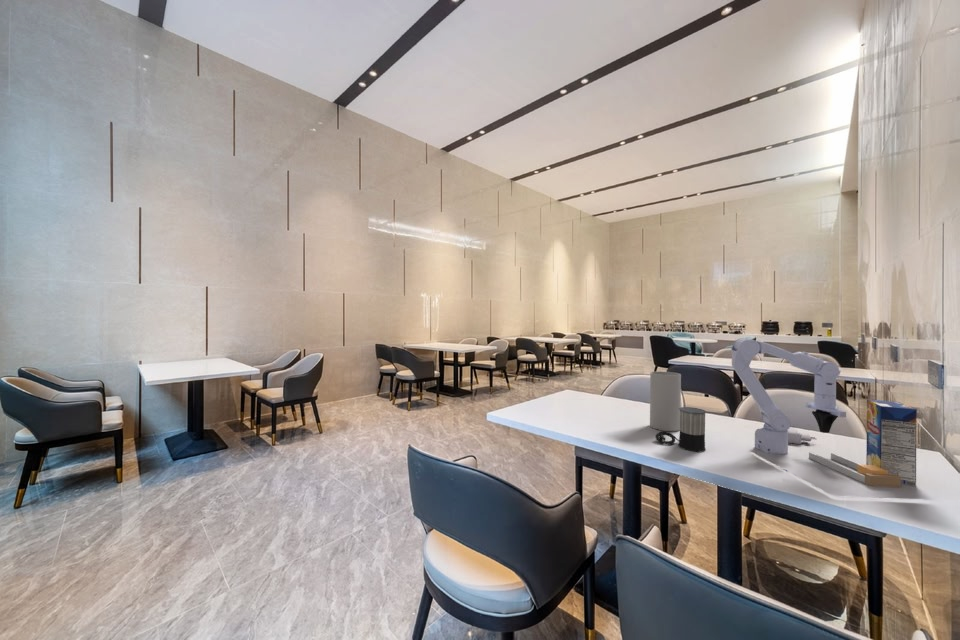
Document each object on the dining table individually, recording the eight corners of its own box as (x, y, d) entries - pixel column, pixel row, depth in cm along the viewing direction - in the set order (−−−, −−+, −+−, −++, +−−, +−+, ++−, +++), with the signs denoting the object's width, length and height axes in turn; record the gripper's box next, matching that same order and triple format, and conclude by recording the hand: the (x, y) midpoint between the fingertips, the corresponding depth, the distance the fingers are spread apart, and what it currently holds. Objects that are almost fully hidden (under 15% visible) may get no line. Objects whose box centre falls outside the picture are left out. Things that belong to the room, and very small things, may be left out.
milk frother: (711, 452, 138) (711, 412, 138) (668, 451, 138) (669, 412, 138) (690, 440, 152) (690, 404, 152) (651, 439, 152) (652, 403, 152)
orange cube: (871, 483, 110) (871, 470, 110) (857, 477, 114) (857, 464, 114) (888, 484, 109) (888, 471, 109) (873, 477, 114) (873, 465, 114)
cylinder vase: (670, 423, 175) (670, 371, 175) (686, 431, 163) (687, 375, 163) (644, 424, 174) (645, 371, 174) (659, 432, 162) (659, 375, 162)
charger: (819, 448, 144) (771, 441, 151) (812, 441, 152) (766, 435, 159) (819, 435, 144) (771, 430, 151) (812, 429, 152) (766, 424, 159)
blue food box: (866, 471, 123) (866, 399, 123) (898, 476, 119) (899, 402, 119) (880, 484, 112) (880, 406, 112) (916, 490, 108) (916, 409, 108)
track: (869, 489, 108) (869, 475, 108) (808, 460, 130) (808, 449, 130) (900, 490, 108) (900, 476, 108) (833, 461, 130) (833, 450, 130)
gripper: (855, 399, 125) (855, 439, 125) (819, 390, 139) (819, 426, 140) (833, 398, 126) (833, 438, 126) (800, 390, 140) (799, 426, 140)
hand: (824, 432), depth 133 cm, fingers closed
